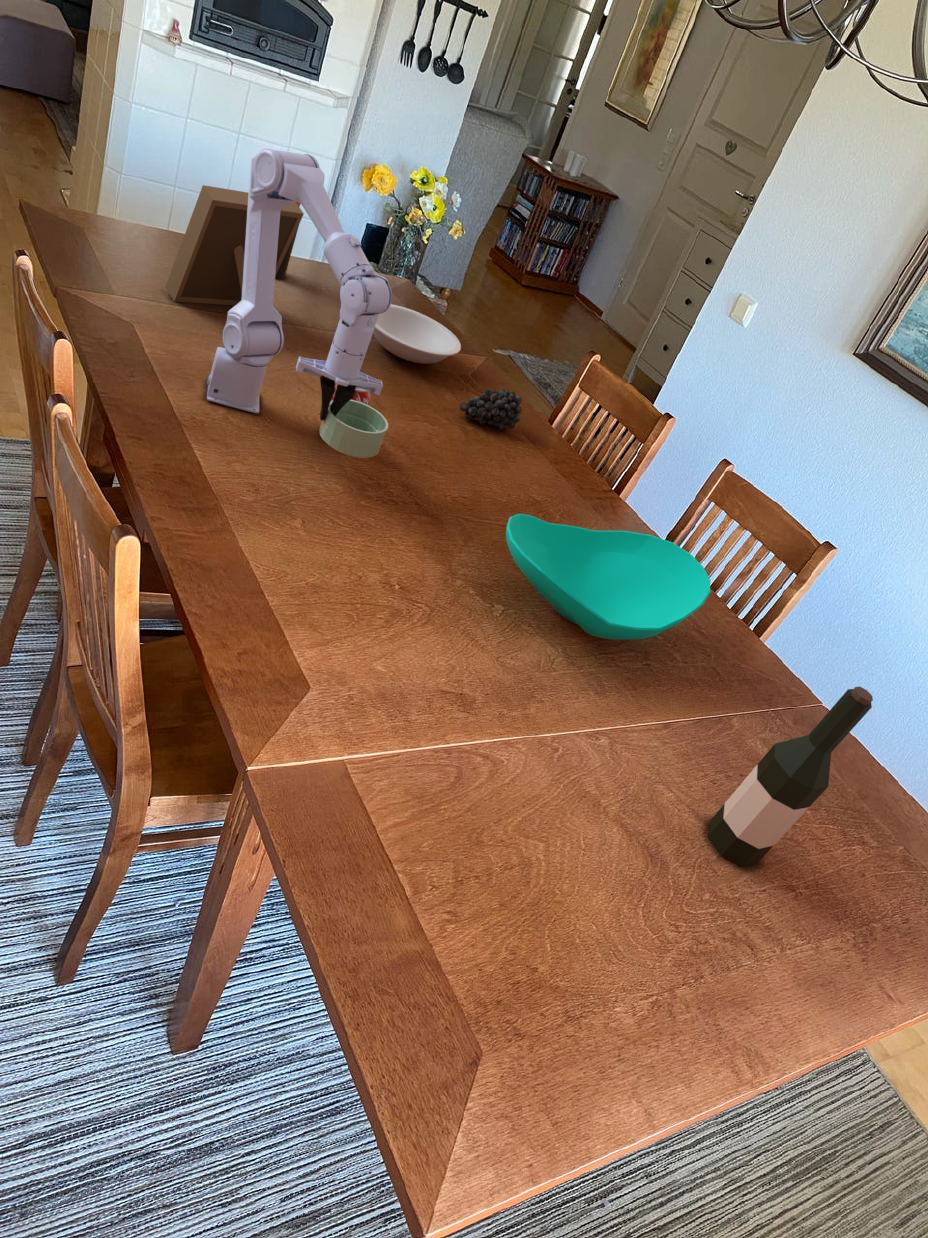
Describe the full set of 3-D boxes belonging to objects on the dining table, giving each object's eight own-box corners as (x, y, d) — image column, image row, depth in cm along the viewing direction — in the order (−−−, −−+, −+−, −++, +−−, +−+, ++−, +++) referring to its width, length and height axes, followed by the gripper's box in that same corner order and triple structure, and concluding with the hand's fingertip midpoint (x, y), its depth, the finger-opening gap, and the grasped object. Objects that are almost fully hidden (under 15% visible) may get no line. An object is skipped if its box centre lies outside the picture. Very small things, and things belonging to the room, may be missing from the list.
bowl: (320, 450, 158) (329, 422, 155) (317, 419, 166) (325, 392, 163) (381, 466, 162) (391, 439, 158) (375, 434, 170) (384, 408, 167)
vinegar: (253, 269, 225) (274, 187, 214) (263, 263, 231) (283, 182, 220) (279, 281, 226) (301, 199, 215) (288, 275, 231) (310, 195, 220)
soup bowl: (468, 372, 228) (478, 347, 224) (415, 386, 209) (425, 359, 205) (394, 323, 234) (403, 299, 230) (336, 333, 215) (344, 306, 211)
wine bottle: (699, 813, 132) (823, 662, 115) (748, 824, 134) (877, 678, 117) (716, 862, 125) (849, 709, 108) (767, 872, 128) (906, 725, 111)
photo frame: (164, 291, 196) (188, 172, 182) (251, 297, 212) (280, 188, 198) (199, 326, 190) (226, 205, 176) (286, 330, 205) (318, 219, 191)
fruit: (473, 384, 198) (533, 396, 205) (457, 377, 205) (516, 389, 211) (463, 424, 200) (523, 435, 207) (448, 416, 207) (506, 426, 214)
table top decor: (634, 575, 180) (668, 520, 172) (703, 676, 161) (744, 619, 153) (454, 550, 161) (483, 488, 154) (507, 661, 142) (543, 596, 135)
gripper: (307, 344, 147) (284, 418, 154) (393, 370, 152) (367, 440, 160) (305, 326, 152) (284, 398, 160) (389, 351, 157) (364, 420, 165)
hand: (325, 418), depth 160 cm, fingers closed on bowl
